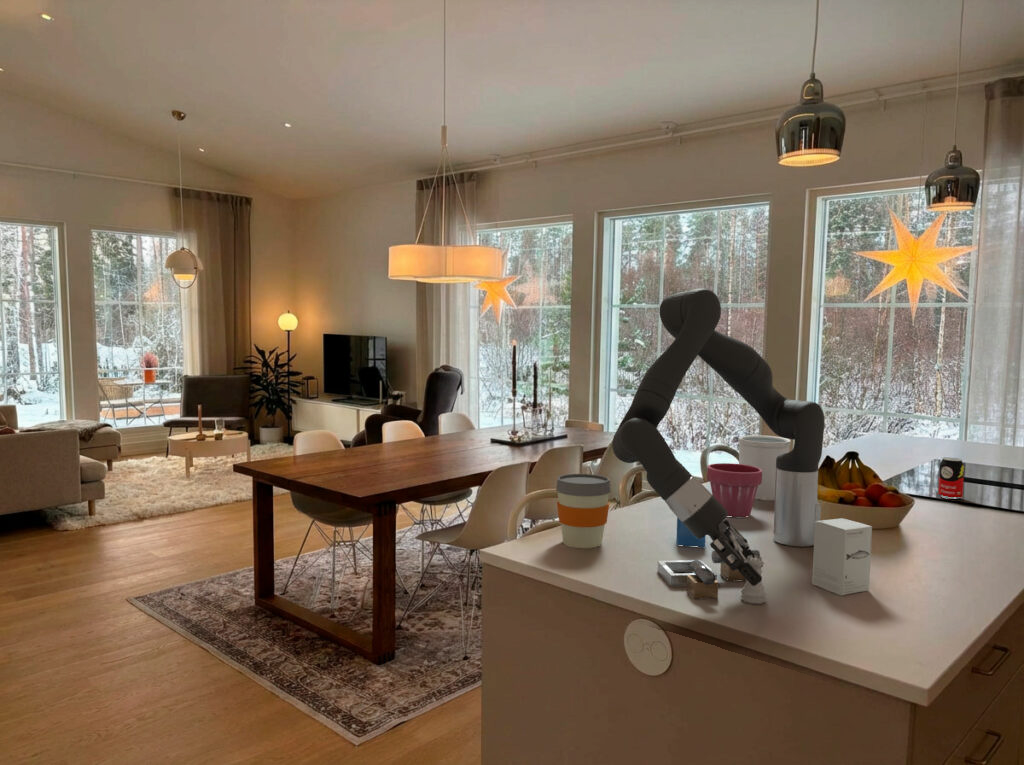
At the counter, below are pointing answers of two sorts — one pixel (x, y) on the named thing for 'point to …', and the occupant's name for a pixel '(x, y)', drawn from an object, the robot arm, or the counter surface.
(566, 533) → the reusable coffee cup
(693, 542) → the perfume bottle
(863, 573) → the supplement box
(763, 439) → the utensil holder
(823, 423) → the robot arm
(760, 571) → the rook chess piece
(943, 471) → the beverage can
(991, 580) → the counter surface
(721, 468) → the plant pot
